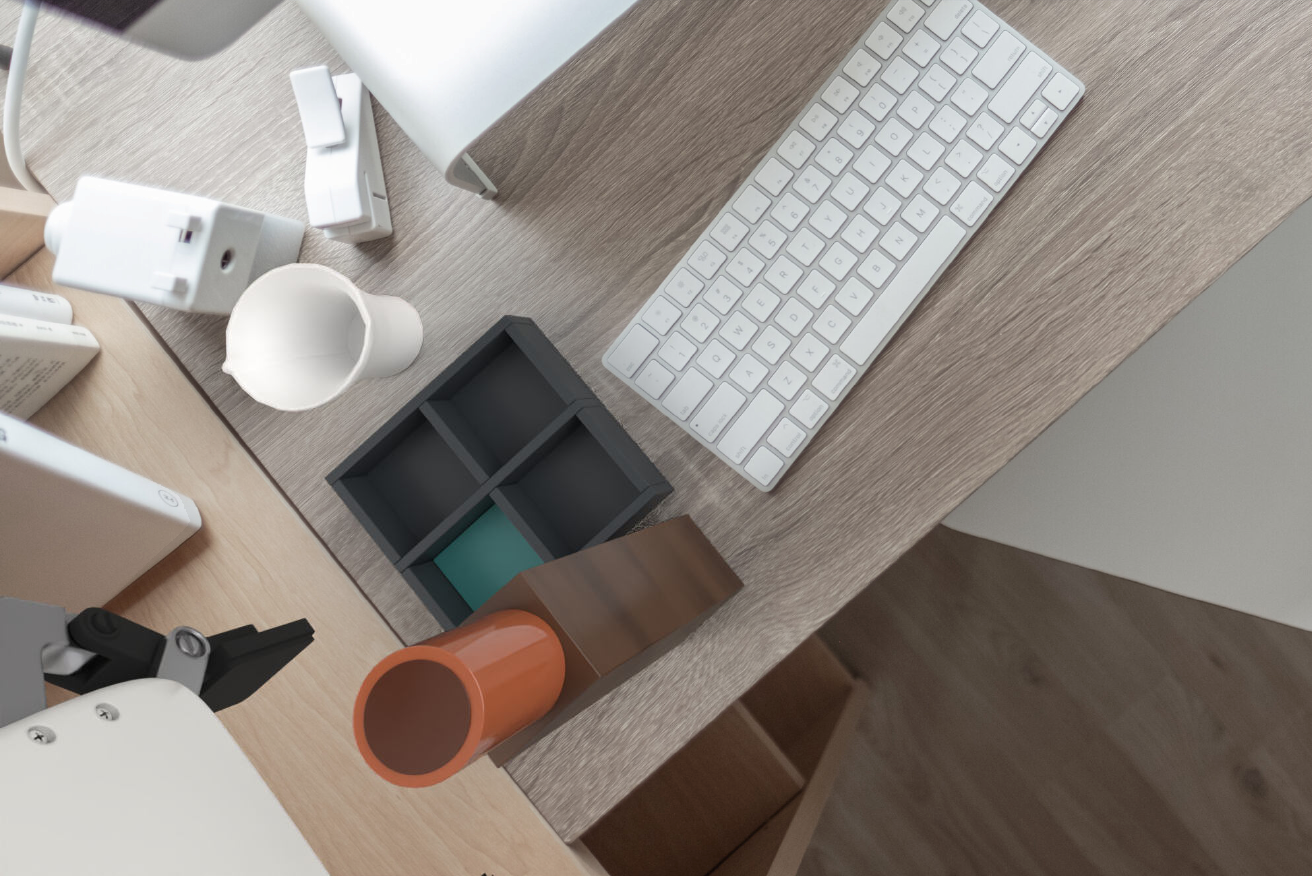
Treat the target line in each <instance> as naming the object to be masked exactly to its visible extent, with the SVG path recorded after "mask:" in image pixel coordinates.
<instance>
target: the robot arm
mask: <svg viewBox="0 0 1312 876" xmlns="http://www.w3.org/2000/svg"><path fill="white" fill-rule="evenodd" d="M315 633H316V630H315V629H314V627H313V626H312V625H311V623H310V622H309V621H308V619H307V618H306V617H303V618H299V619H296V620H293V621H291V622H287V623H284V624H281V625H278V626H277V625H276V626H274V627H271V628H267V629H265V630H261V631H259V630H258V629H257V627H256V626H255V625H254V624H253V623H250V624H249V623H248V624H245V625H242V626H239V627H236V628H232V629H229V630H226V631H222V632H218V633H216V634H212V635H209V636H205V635H204V634H203V633H202V632H201V631H199V630H197V629H196V628H194V627H192V626H188V625H179V626H177V627H175V628H173V629H172V630H171V631H170V632H169V633H167V634H166V635H165V634H162V633H161V632H158V631H156V630H153V629H151V628H149V627H147V626H145V625H142V624H139V623H137V622H136V621H133V620H131V619H129V618H126V617H124V616H122V615H119V614H117V613H114V612H113V611H110V610H108V609H106V608H101V607H98V606H90V607H86V608H85V609H83V610H82V611H81V612H80V613H72V612H69V611H66V607H65V606H61V605H60V606H59V605H54V604H49V603H44V602H39V601H34V600H29V599H24V598H18V597H15V596H14V597H13V596H8V595H7V596H5V595H0V876H331V874H330V873H329V872H328V870H327V868H326V867H325V866H324V864H323V862H322V861H321V859H320V858H319V857H318V855H317V854H316V852H315V851H314V849H313V848H312V847H311V846H310V843H308V840H306V837H305V836H304V835H303V834H302V832H301V831H300V829H299V828H298V826H297V825H296V824H295V822H294V821H293V819H292V818H291V817H290V815H289V813H288V812H287V811H286V810H285V808H284V806H283V805H282V804H281V802H280V801H279V800H278V798H277V796H276V795H275V794H274V793H273V791H272V790H271V788H270V787H269V785H268V784H267V783H266V781H265V780H264V778H263V777H262V776H261V774H260V773H259V771H258V770H257V768H256V767H255V766H254V765H253V763H252V762H251V760H250V759H249V758H248V756H247V755H246V754H245V752H244V751H243V750H242V748H241V746H240V745H239V744H238V742H236V740H235V739H234V737H233V735H232V734H231V733H230V731H228V729H227V728H226V727H225V725H224V724H223V722H222V721H221V720H220V719H219V718H218V716H217V715H216V713H218V712H220V711H223V710H225V709H228V708H231V707H233V706H236V705H239V704H240V703H243V702H244V701H246V700H248V698H250V697H251V696H252V695H254V694H255V693H256V692H257V691H259V689H261V687H263V686H264V685H265V684H266V683H268V681H270V680H271V679H272V678H273V677H275V676H276V675H277V674H278V673H279V672H280V671H282V669H284V668H285V667H286V666H287V665H288V664H289V663H291V661H293V660H294V659H295V658H296V657H297V656H299V655H300V654H301V653H302V652H303V651H304V650H305V649H306V648H308V647H309V646H311V644H312V643H313V642H314V641H315V638H314V636H313V635H314V634H315ZM45 682H47V683H49V684H50V685H54V686H55V687H58V688H61V689H63V690H67V691H69V692H72V693H74V694H76V695H78V696H76V697H75V696H74V697H73V698H70V699H67V700H64V701H63V702H61V703H58V704H55V705H53V706H49V707H48V699H47V691H46V683H45ZM480 876H488V875H487V873H486V872H483V873H482V874H481V875H480ZM491 876H495V875H494V874H491Z"/></svg>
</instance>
